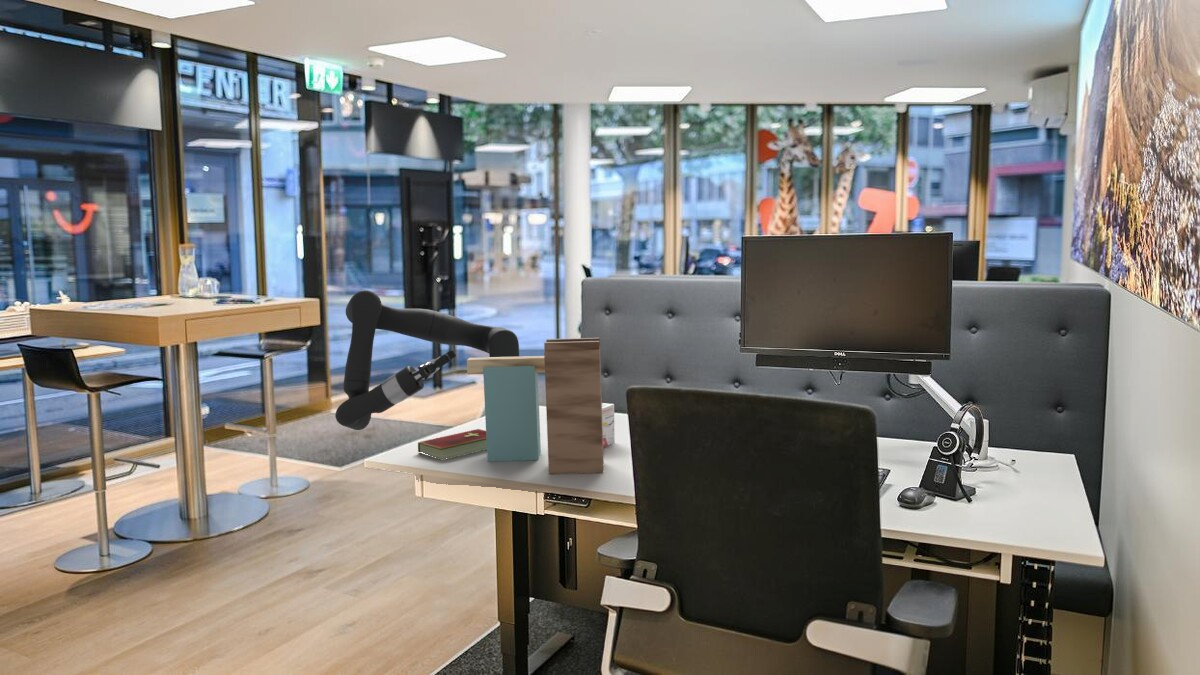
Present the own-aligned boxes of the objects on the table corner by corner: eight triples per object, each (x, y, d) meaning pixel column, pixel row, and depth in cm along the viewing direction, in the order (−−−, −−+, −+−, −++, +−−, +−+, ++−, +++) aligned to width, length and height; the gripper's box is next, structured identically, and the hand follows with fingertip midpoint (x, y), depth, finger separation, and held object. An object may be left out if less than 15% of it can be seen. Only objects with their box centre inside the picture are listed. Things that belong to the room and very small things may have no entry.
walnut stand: (551, 463, 232) (547, 338, 228) (603, 462, 232) (599, 337, 228) (548, 474, 222) (543, 343, 218) (603, 472, 222) (599, 342, 218)
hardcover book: (418, 455, 247) (417, 441, 247) (478, 441, 262) (477, 427, 261) (441, 462, 239) (441, 447, 238) (502, 447, 253) (501, 433, 253)
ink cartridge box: (600, 449, 246) (599, 398, 244) (586, 447, 248) (584, 397, 247) (615, 442, 253) (614, 393, 251) (601, 441, 256) (599, 392, 254)
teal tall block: (491, 453, 245) (487, 363, 241) (540, 452, 244) (537, 362, 241) (487, 461, 237) (483, 367, 233) (538, 460, 236) (534, 366, 233)
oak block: (470, 372, 240) (469, 357, 239) (559, 369, 239) (559, 355, 239) (467, 374, 236) (466, 359, 235) (558, 372, 235) (558, 357, 235)
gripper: (388, 378, 231) (439, 346, 230) (401, 369, 245) (449, 340, 244) (403, 401, 232) (454, 370, 230) (415, 391, 246) (463, 362, 245)
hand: (451, 354), depth 237 cm, fingers open, 8 cm apart
